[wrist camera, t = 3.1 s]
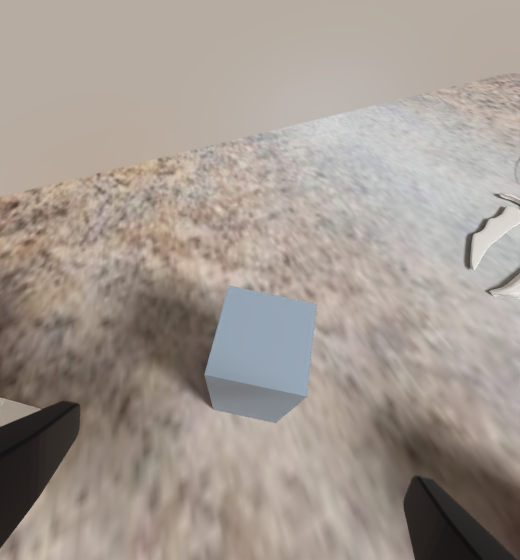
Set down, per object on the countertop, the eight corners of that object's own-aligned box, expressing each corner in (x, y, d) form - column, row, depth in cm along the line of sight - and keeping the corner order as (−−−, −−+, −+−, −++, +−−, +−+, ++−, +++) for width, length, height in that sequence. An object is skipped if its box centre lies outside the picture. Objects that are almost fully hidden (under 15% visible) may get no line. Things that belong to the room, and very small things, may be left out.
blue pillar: (284, 360, 22) (316, 304, 14) (275, 422, 20) (307, 396, 12) (228, 348, 22) (228, 285, 14) (213, 409, 20) (204, 374, 12)
